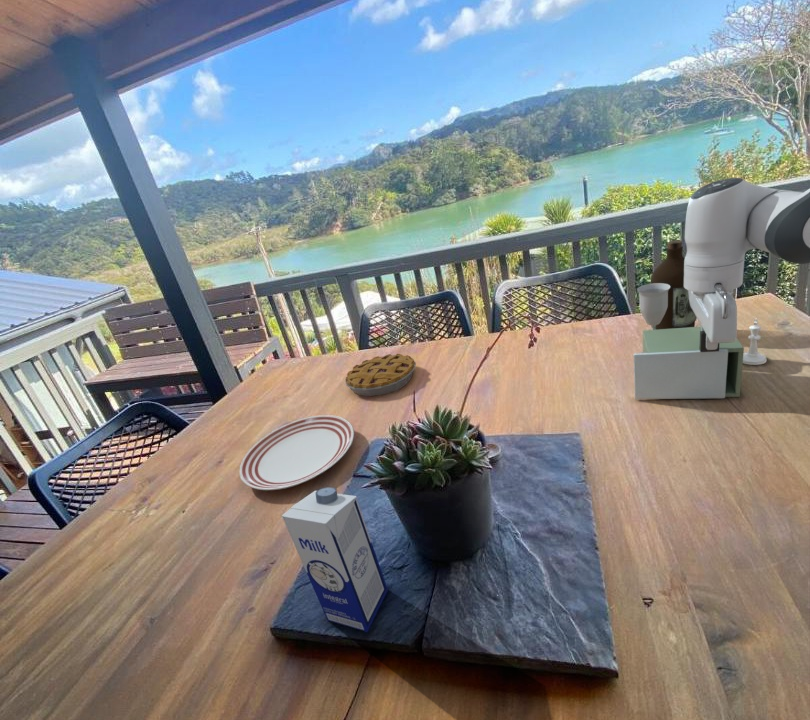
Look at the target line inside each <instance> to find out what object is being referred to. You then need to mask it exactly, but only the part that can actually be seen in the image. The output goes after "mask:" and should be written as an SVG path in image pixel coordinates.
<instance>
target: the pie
mask: <svg viewBox="0 0 810 720" xmlns="http://www.w3.org/2000/svg"><path fill="white" fill-rule="evenodd" d="M416 365H417V363H416V361H415V360H414V358H412V356H411V355H408V354H407V355H403V354H401V353H396V354H391V353H389V354H385V355H384V356H379V355H378V356H374V357H372V358H371V359H365V360H363V361H362V362H361V363H360V364H356V365H354V366H352V370H350V371H348V372H347V374H346V377H345V381H344V382H345V385H346V387H347V388H349V389H350V390H351V391H352V392H353V393H354V394H357V395H360V396H366V397H374V396H382V395H387V394H390V393H394V392H396V391H398V390H400V389H401V388H403V387H406V385H407V384H408V383H409V382H410V381H411V380H412V376H413V373H414V371H415V368H416Z"/></svg>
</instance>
